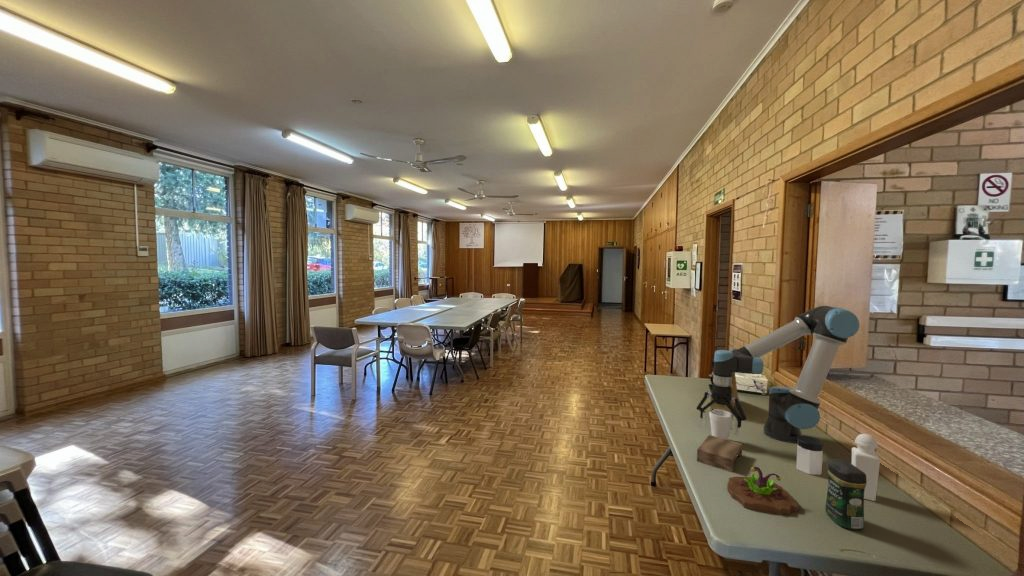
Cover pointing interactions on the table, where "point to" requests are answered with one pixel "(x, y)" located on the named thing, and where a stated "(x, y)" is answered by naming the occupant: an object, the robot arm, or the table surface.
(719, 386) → the robot arm
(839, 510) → the coffee jar
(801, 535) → the table surface
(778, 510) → the plant
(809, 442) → the jar
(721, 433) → the foam cup
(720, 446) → the walnut shelf stand
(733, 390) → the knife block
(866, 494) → the soap dispenser
